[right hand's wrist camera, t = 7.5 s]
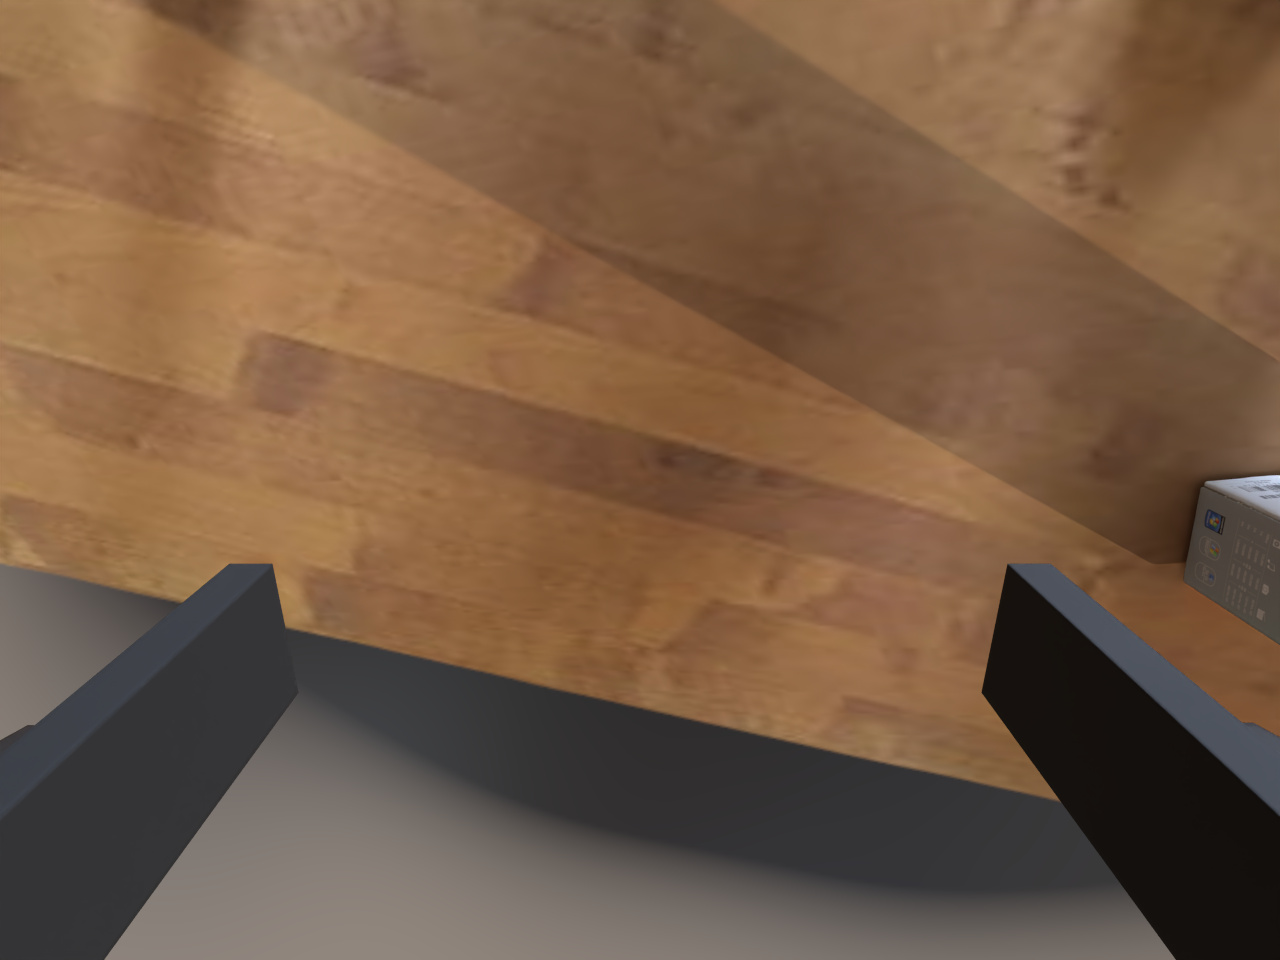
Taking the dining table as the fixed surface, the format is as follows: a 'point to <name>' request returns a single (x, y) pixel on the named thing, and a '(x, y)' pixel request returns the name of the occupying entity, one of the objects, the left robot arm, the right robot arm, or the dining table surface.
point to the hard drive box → (1239, 549)
